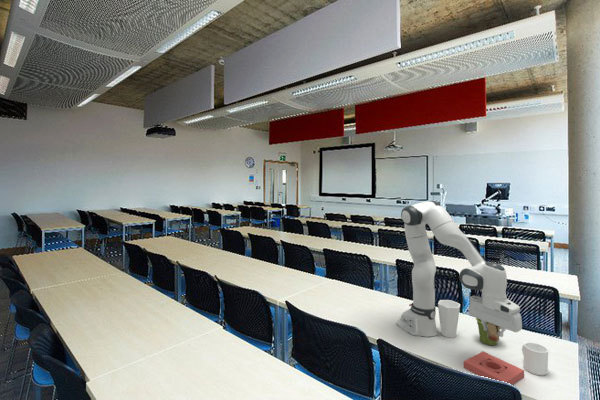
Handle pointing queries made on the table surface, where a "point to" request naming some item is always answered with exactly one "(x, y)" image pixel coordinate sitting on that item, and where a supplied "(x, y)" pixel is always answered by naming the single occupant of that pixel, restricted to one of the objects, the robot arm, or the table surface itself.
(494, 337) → the tan cylinder plug
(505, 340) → the table surface
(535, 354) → the mug
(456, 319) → the cup
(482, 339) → the plant pot
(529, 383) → the table surface
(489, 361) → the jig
